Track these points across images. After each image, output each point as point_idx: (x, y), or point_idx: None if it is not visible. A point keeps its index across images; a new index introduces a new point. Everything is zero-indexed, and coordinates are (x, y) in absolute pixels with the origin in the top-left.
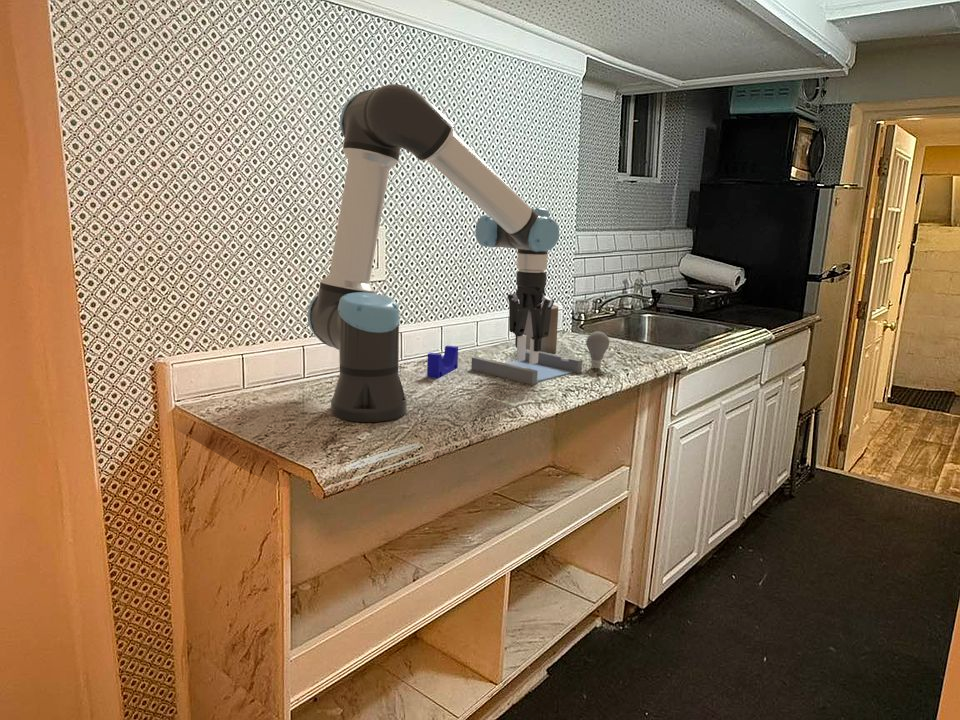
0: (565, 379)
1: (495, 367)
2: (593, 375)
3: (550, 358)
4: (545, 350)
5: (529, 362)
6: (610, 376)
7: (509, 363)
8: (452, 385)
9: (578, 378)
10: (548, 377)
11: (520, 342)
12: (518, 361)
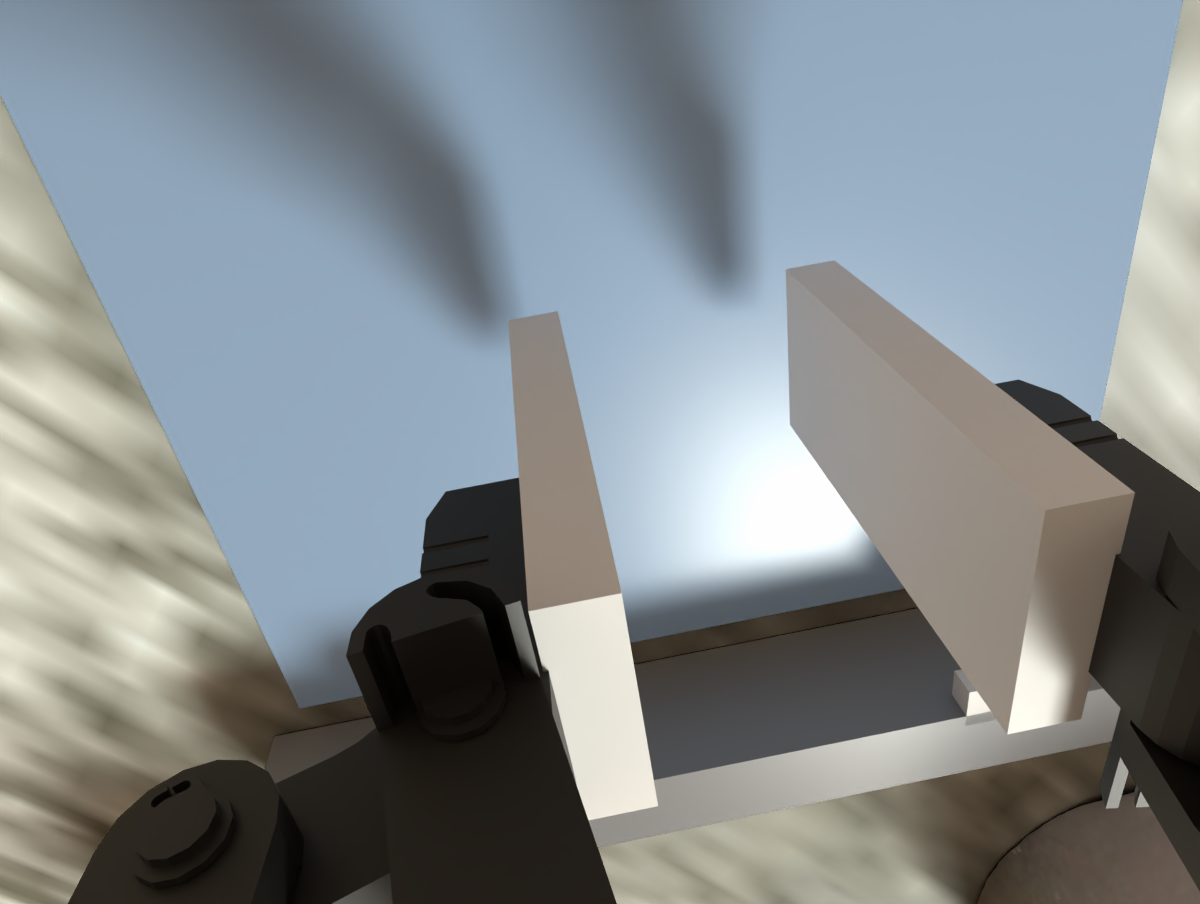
0: (18, 464)
1: None
2: (123, 802)
3: (667, 740)
4: (1031, 896)
5: (554, 321)
6: (31, 892)
7: (1047, 352)
8: None
9: (30, 619)
10: (112, 292)
11: (946, 455)
12: (790, 270)
